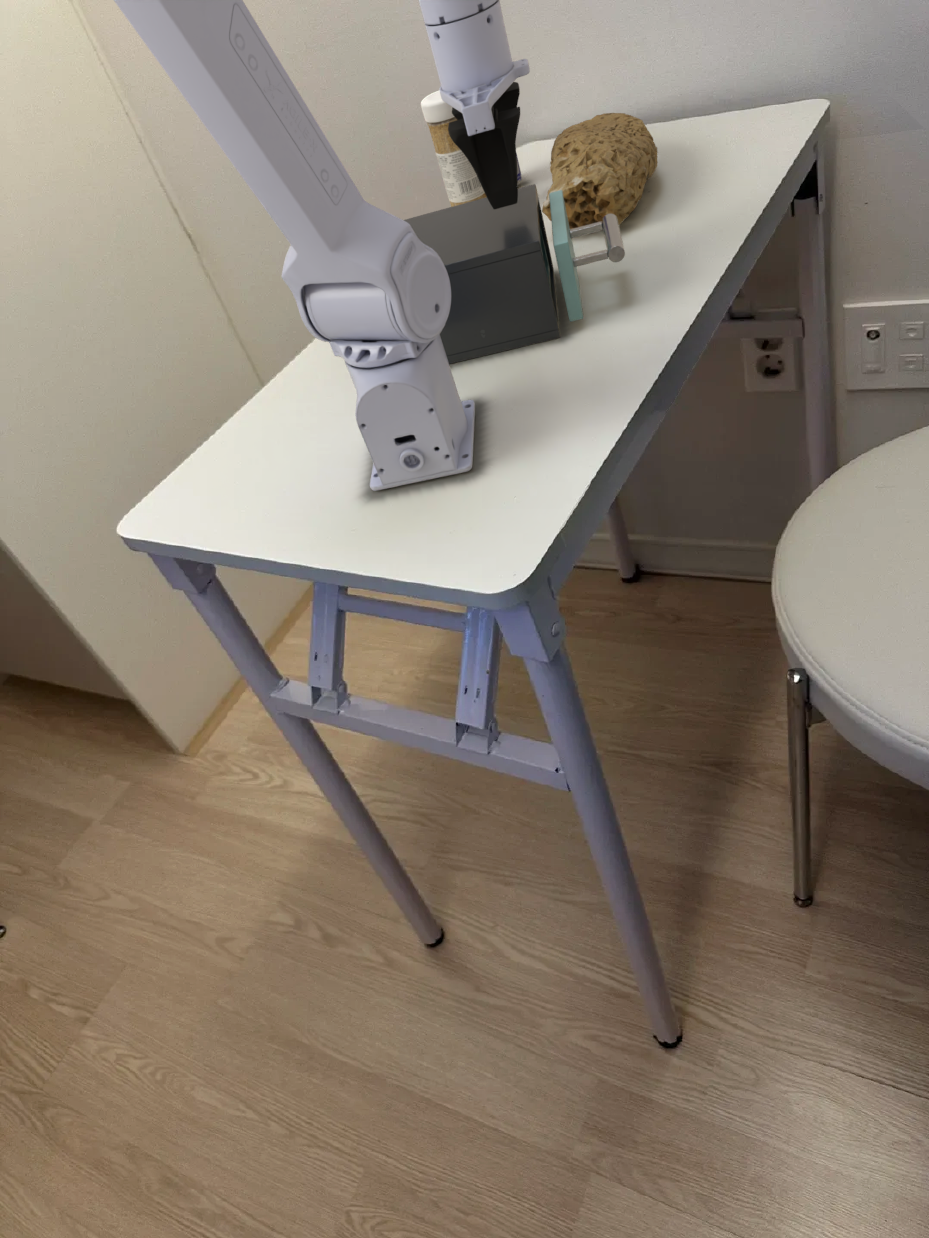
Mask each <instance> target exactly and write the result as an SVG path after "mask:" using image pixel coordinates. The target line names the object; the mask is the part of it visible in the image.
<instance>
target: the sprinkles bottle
mask: <svg viewBox="0 0 929 1238" xmlns="http://www.w3.org/2000/svg"><path fill="white" fill-rule="evenodd" d="M420 101H421V102H420V107H421V112H422V115H423V118H424V121H425V122H426V125H427V126H428V129H429V134H430V136H431V140H432V144H433V148H434V153H435V157H436V159H437V163H438V166H439V170H440V174H441V177H442V181H443V184H444V188H445V191H446V195H447V199H448V201H449V204H450V207H453V206H456V205H460V204H464V203H467V202H471V201H475V200H478V199H482V198H486V194H485V192H484V190H483V188H482V186H481V183H480V181H479V179H478V177H477V175H476V173H475V171H474V169H473V167H472V165H471V164H470V162H469V161H468V159H467V158H466V156H465V155H464V153H463V152H462V151H461V150H460V149H459V148H458V146H457V145H456V144H455V143H454V142H453V141H452V139H451V137H450V135H449V132H448V125H449V122H453V121H456V120H457V119H456V118H455V117H454V115H453V114H452V106H450V105H449V104H447V103H445V102H444V101H443V100H442V98H441V94H440V91H439V89H438V90H436V91H434V92H432V93H430V94H427V95H426V96H425V97H424V98H423V99H422V100H420Z"/></svg>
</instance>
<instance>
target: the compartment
mask: <svg viewBox="0 0 929 1238" xmlns="http://www.w3.org/2000/svg"><path fill="white" fill-rule="evenodd" d="M541 207H542V206H541V203H540V198H539V192H538V189H537V183H533V184H529V185H526V186H522V187H520V188H519V187H518V201H517V203H516V204H513V205H509V206H506V207H502V208H498V209H493V207H492V206H491V204H490V202H489V201H488V199H487V197H486V198H482V199H478V200H475V201H471V202H467V203H464V204H460V205H456V206H453V207H451V206H450V207H446V208H442V209H439V210H434V211H431V212H428V213H424V214H421V215H417V216H412V217H410V218H405V219H403V220H404V221H406V222H407V223H409V224H410V225H411V227H412V229H413V231H414V232H415V234H416V236H417V237H418V238H419V240H420V241H421V242H422V243H424V244H425V245H427V246H429V247H430V248H432V249H433V250H434V251H435V252H436V253H437V254H438V255H439V257H440V258H441V260H442V262H443V264H444V266H445V268H446V270H447V273H448V276H449V280H450V286H451V306H450V311H449V315H448V318H447V321H446V323H445V326H444V328H443V329H442V331H441V333H440V337H441V340H442V343H443V347H444V350H445V353H446V356H447V359H448V362H449V365H452V364H455V363H460V362H463V361H467V360H471V359H476V358H480V357H484V356H485V357H486V356H488V355H493V354H498V353H501V352H507V351H510V350H514V349H518V348H522V347H527V346H531V345H535V344H539V343H543V342H548V341H553V340H557V339H560V338H561V329H560V318H559V317H560V316H559V306H558V293H557V283H556V273H555V267H554V264H553V258H552V255H551V250H550V245H549V240H548V234H547V231H546V226H545V222H544V221H545V220H544V217H543V212H542V208H541ZM539 222H540V227H541V231H542V236H543V240H544V245H545V250H546V254H547V259H548V263H549V268H550V279H551V290H550V286H549V281H548V277H547V272H546V267H545V263H544V258H543V254H542V249H541V242H540V227H539ZM551 292H552V295H551Z"/></svg>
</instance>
